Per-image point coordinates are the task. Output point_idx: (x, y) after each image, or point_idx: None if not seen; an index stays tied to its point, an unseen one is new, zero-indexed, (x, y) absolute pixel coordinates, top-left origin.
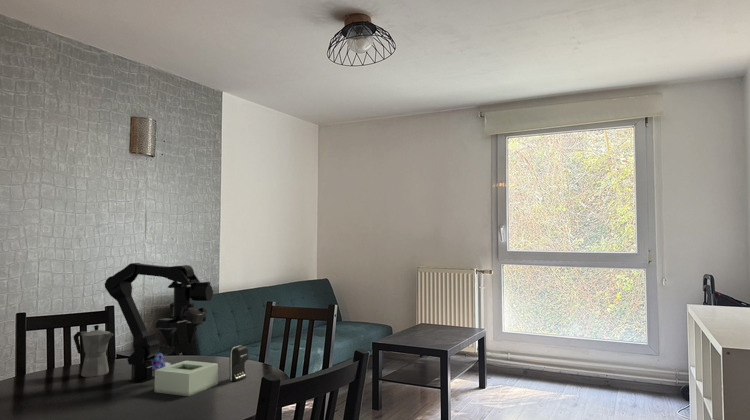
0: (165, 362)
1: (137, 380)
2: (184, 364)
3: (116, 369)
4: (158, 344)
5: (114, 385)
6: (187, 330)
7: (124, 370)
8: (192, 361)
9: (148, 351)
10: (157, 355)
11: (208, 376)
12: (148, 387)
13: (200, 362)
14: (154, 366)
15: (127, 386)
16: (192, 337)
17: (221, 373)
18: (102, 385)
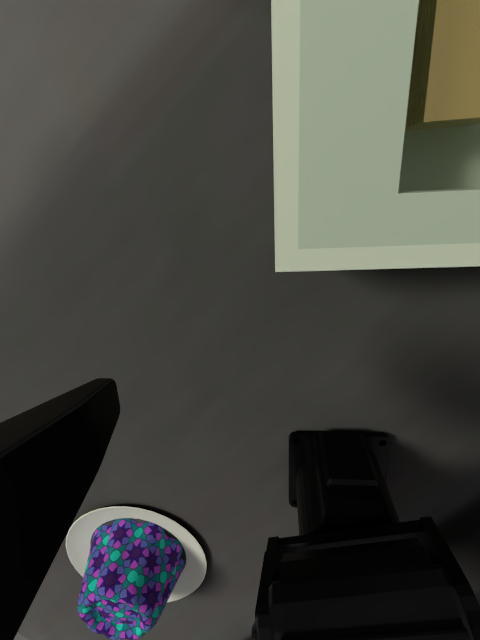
0: (70, 553)
1: (385, 459)
2: (397, 172)
3: (238, 636)
4: (283, 632)
5: (457, 503)
6: (7, 625)
7: (237, 608)
8: (282, 172)
9: (450, 582)
10: (122, 596)
11: None
12: (460, 337)
13: (291, 31)
14: (159, 544)
15: (462, 444)
16: (62, 410)
17: (29, 134)
18: (467, 543)
